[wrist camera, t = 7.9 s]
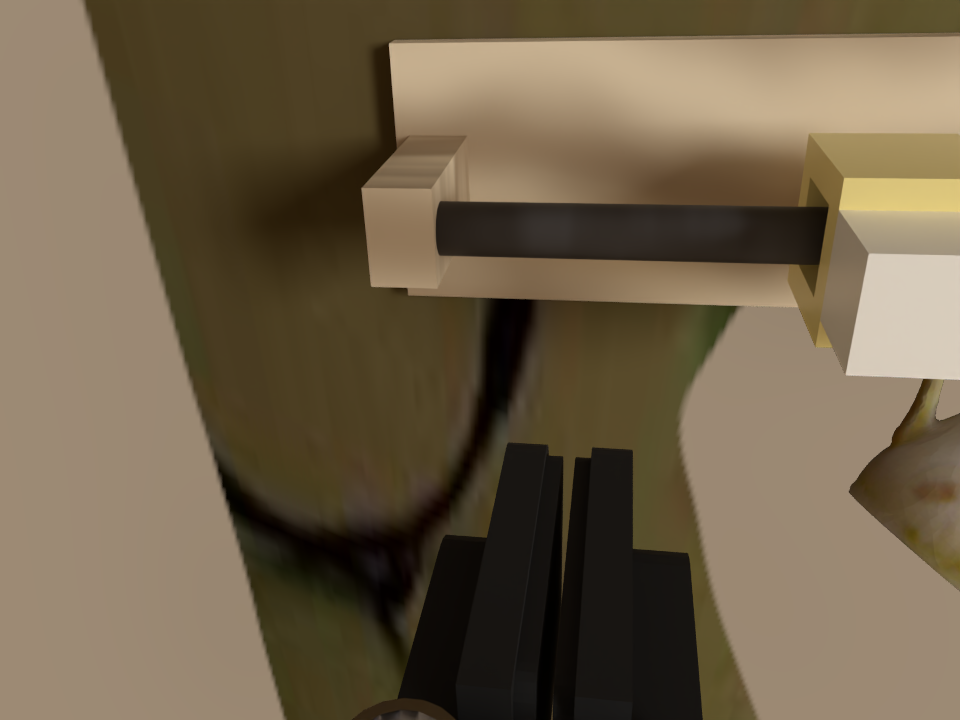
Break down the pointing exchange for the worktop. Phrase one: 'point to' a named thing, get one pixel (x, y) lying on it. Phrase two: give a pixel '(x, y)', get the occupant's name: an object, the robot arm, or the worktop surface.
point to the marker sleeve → (884, 253)
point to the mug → (919, 484)
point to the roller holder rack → (630, 160)
